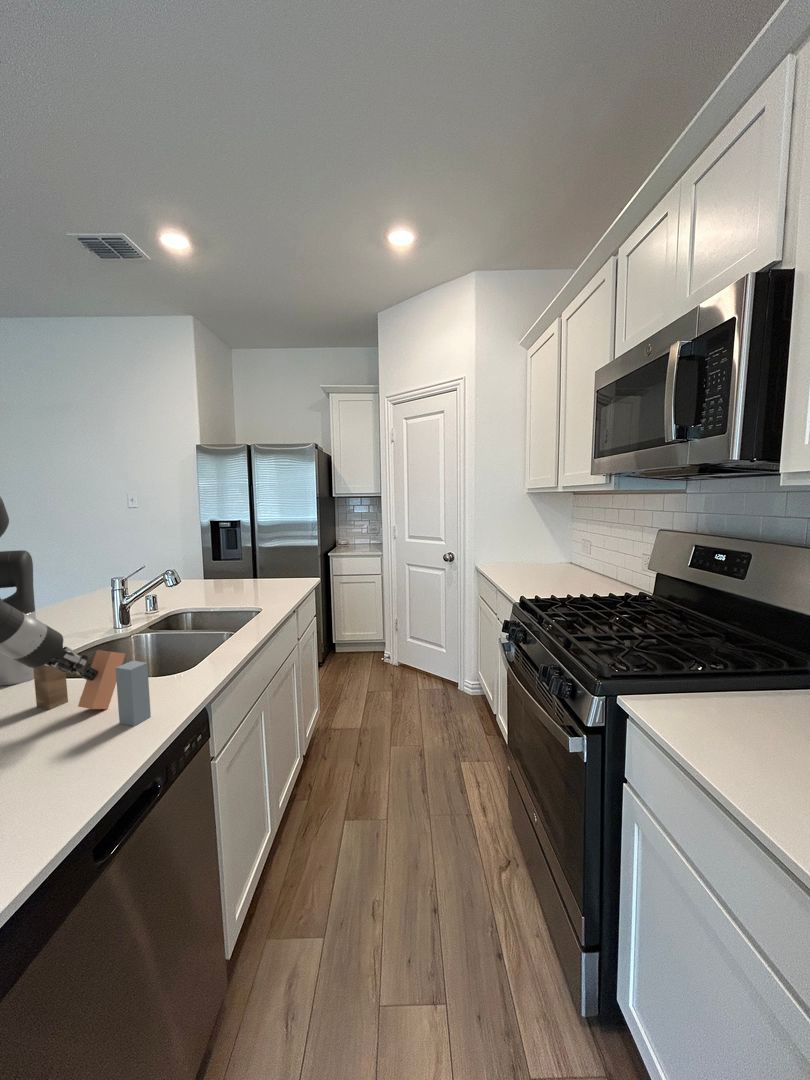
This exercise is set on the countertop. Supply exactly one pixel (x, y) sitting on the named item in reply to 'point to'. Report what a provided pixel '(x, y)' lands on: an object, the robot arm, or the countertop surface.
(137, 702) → the slate pillar
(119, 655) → the terracotta pillar
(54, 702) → the walnut pillar
